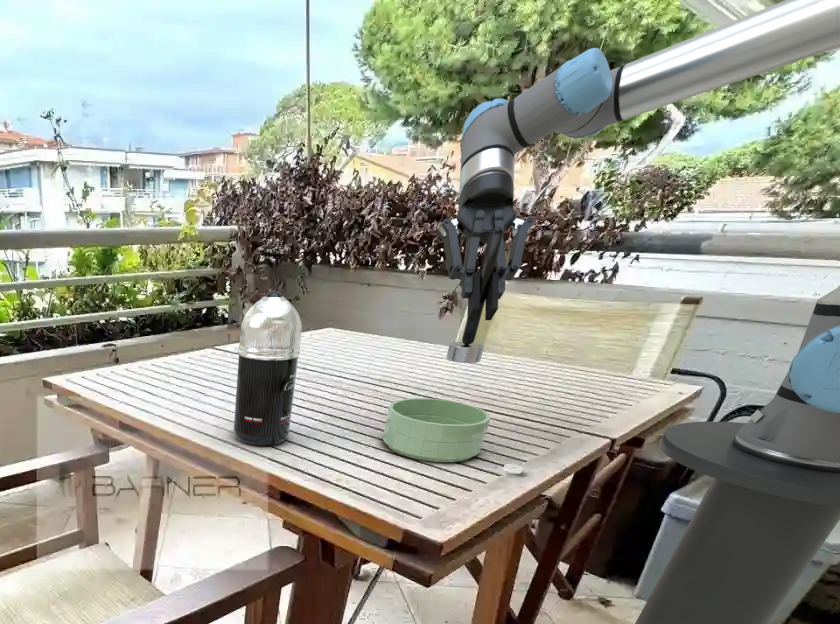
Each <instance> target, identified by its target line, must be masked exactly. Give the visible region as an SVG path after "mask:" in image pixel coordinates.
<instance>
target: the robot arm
mask: <svg viewBox="0 0 840 624" xmlns="http://www.w3.org/2000/svg"><path fill="white" fill-rule="evenodd" d="M838 48H840V0H782V1H780V2H778V3H775V4H772V5H770V6H767V7H765V8H762V9H760V10H758V11H755V12H752V13H750V14H748V15H745V16H743V17H740V18H737V19H735V20H733V21H730V22H727V23H726V24H723V25H720V26H718V27H715V28H713V29H709V30H707V31H704V32H703V33H700V34H697V35H695V36H692V37H690V38H688V39H685V40H683V41H680V42H678V43H676V44H673V45H670V46H668V47H665V48H663V49H661V50H658V51H655V52H653V53H650V54H648V55H645V56H643V57H641V58H638V59H635V60H633V61H630V62H628V63H626V64H623V65H621V66H618V67H615V68H613V69H610V66H609V62H608V60H607V57H606V55H604V53H603V51H602V50H601V49H600V48H598V47H592V48H591V47H590V48H589V49H587V50H586V51H583V52H582V53H580V54H579V55H577V56H575V57H573V58H572V59H569V60H567V61H565V62H564V63H563V64H562V65H561V66H560V67H558V68H557V69H555V70H554V71H553V72H551V73H549V74H548V75H546V76H545V77H544V78H542V79H541V80H539V81H538V82H536V83H535V84H533V85H532V86H530V87H529V88H527V89H526V90H525V91H523V92H521V93H520V94H519V95H517V96H516V97H514V98H512V99H511V100H507V99H505V98H494V99H493V100H489V101H484V102H482V103H481V104H479V105H478V106H476V107H475V108H474V109H473V110H472V111H471V112H470V113H469V114H468V116H467V118H466V119H465V121H464V124H463V128H462V135H461V138H460V145H459V147H460V175H459V190H458V191H459V192H458V193H459V194H458V195H459V197H458V210H457V211H458V213H457V214H456V218H453V219H450V218H444V219H443V220H442V222H441V225H440V227H439V230H438V232H437V235H438V236H439V238H440V239H441V241H442V243H443V248H444V254H445V255H444V256H445V261H446V269H447V274H448V275H447V276H448V279H449V280H451V281H455V280H456V279H457V280H459V283H458V284H459V286H460V287H461V294H460V296H461V298H462V299H467V316H466V317H467V319H466V321H467V320H473V319H474V317H475V315H476V313H477V312H478V310H479V303H480V271H476V266H477V260H478V253H479V246H480V243H481V242H483V243H486V244H487V242H488V238H489V234H490V232H491V230H492V229H493V228H495V227H501V228H503V230H504V234H503V238H502V241H501V245H500V249H499V252H498V256H497V260H496V263H495V267H494V271H493V274H492V278H491V282H490V285H489V289H488V293H487V296H486V300H485V308H484V309H485V312H484V321H492V320H493V317H494V316H495V315H496V313H497V311H498V310H499V300H501V298H502V296H503V295H504V293H505V292H506V281H512V280H513V279H514V278H515V276H516V275H517V273H518V272H519V269H520V268H521V265H522V260H523V255H524V251H525V246H526V241H527V236H528V233H529V231H530V229H532V226H533V224H534V223H535V219H534V218H533V217H531V216H530V217H527V218H526V219H522V218H519V217H518V216H517V215H518V214H517V212H516V210H515V209H514V203H515V202H514V197H515V196H514V195H515V193H514V192H515V191H514V190H515V185H514V182H515V155H517V154H518V153H519V152H521V151H523V150H524V149H527V148H529V147H531V146H532V145H533V144H535V143H537V142H538V141H540V140H541V139H544V138H545V137H547V136H549V135H550V134H552V133H557V134H560V135H564V136H566V137H568V138H572V139H581V138H587V137H591V136H593V135H596V134H598V133H599V132H601V131H602V130H604V129H606V127H608V126H612V125H615V124H617V123H619V122H622V121H625V120H627V119H630V118H634V117H636V116H640V115H642V114H646V113H648V112H651V111H655V110H657V109H660V108H664V107H666V106H669V105H673V104H675V103H679V102H680V101H684V100H687V99H689V98H692V97H696V96H699V95H701V94H705V93H707V92H710V91H714V90H716V89H717V90H718V89H719V88H722V87H726V86H728V85H731V84H735V83H737V82H740V81H744V80H746V79H749V78H753V77H755V76H758V75H760V74H763V73H767V72H770V71H774V70H776V69H779V68H781V67H785V66H788V65H791V64H794V63H796V62H800V61H803V60H805V59H808V58H811V57H814V56H817V55H821V54H823V53H826V52H829V51H832V50H835V49H838ZM510 228H512V230H511V231H512V237H513V239H512V242H511V245H510V250H509V255H508V259H506V258H507V257H506V248H505V239H504V235H505V233H506V232H507V231H508V230H509V229H510ZM458 232H460V233H461V234H462V235H463V236H464V238H466V240H465V241H466V243H465V253H464V259H463V261H462V255H461V249H460V248H461V247H460V241H459V236H458V235H459V234H458ZM812 311H813V312H812V313H811V315H810V317H809V318H810V319H809V322H808V324H807V327H806V329H805V331H804V332H805V333H804V335H803V338H802V341H801V343H800V346H799V349H798V351H797V353H796V355H795V356H794V357H793V358H792V360H791V362H790V364H789V368H788V371H787V373H786V375H785V376H784V378H783V380H782V382H781V384H780V385H779V388H778V389H777V391H776V393H775V395H774V396H773V398H772V399H771V400H770V401H769V402H767V404H766V405H764V406H763V407H762V409H760V410H759V409H757V410H755V411H754V413H753V414H752V415H750V416H749V417H750V419H749V420H748V421H747V422H745V423H746V424H745V425H744V426H743V427H742V428H741V429H740V430H739V431H738V432H737V434H736V436H735V438H734V440H733V441H732V444H733V446H734V447H736V448H737V449H739V450H740V451H742V452H745V453H747V454H749V455H752V456H755V457H758V458H761V459H764V460H767V461H771V462H775V463H779V464H783V465H787V466H792V467H797V468H802V469H808V470H814V471H822V472H830V473H840V285H838V286H837V287H836V288H835V289H833V290H831V291H830V292H828V293H826V294H824V295H823V296H821V297H820V298H817V300H816V302H815V305H814V309H813V310H812Z"/></svg>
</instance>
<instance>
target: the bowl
mask: <svg viewBox="0 0 840 624" xmlns="http://www.w3.org/2000/svg"><path fill="white" fill-rule="evenodd" d="M490 422H491V415H490V413H488V412H487V411H486V410H484V409H481V408H479V407H477V406H475V405H472V404H469V403H464V402H460V401H455V400H449V399H440V398H431V397H430V398H423V397H422V398H421V397H417V398H416V397H415V398H404V399H403V398H402V399H399V400H395V401H393V402H391V403H390V404H389V406H388V410H387V415H386V420H385V425H384V430H383V434H382V435H383V436H382V440H383V442H384V444H385V445H387V447H388V448H389V449H390V450H392V451H393V452H395V453H397V454H399V455H402V456H405V457H408V458H412V459H415V460H421V461H424V462H425V461H426V462H432V463H433V462H435V463H459V462H463V461H467V460H470V459H472V458H473V457H476V456H477V455H479V453H481V450H482V447H483V444H484V441H485V438H486V434H487V431H488V428H489V424H490Z"/></svg>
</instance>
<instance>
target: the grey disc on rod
mask: <svg viewBox="0 0 840 624" xmlns="http://www.w3.org/2000/svg"><path fill="white" fill-rule="evenodd" d="M503 234H504V235H505V233H504V230H503V228H501V227H495V228H493V229H492V230H491V232H490V234H489V238H488V242H487V243H486V244H485V245H486V247H485V249H484V253H483V254H484V255H483V258H482V261H481V265H480V267H479V272H480V303H479V310H478V312H477V313H476V315H475V317H474V319H473V320H467V319H466V322H465V326H464V329H463V334H462V337H461V341H452V342H450V343H449V344H448V348H447V353H446V357H445V359H446V360H447V361H450V362H454V363H459V364H460V363H461V364H477V363H480V362H481V360H482V357H483V354H484V353H483V352H484V349H485V345H484V344H482V343H478V342H475V341H476V336H477V333H478V329H479V325H480V322H481V318H482V314H483V310H484V307H485V305H486V296H487V293H488V289H489V285H490V282H491V278H492V274H493V271H494V267H495V263H496V260H497V256H498V252H499V249H500V245H501V241H502V238H504V236H503Z"/></svg>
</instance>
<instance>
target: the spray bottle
mask: <svg viewBox="0 0 840 624" xmlns="http://www.w3.org/2000/svg"><path fill="white" fill-rule="evenodd" d="M239 331H240V332H239V343H238V344H239V345H238V350H237V354H238V363H237V377H236V389H235V390H236V391H235V392H236V393H235V407H234V417H233V418H234V420H233V434H234V437H236V439H237V440H239V441H240V442H242V443H245V444H248V445H252V446H253V445H254V446H261V447H263V446H265V447H266V446H273V445H274V446H275V445H278V444H281V443H283V442H284V441H285V440H287V438H288V437H289V434H290V427H291V419H292V411H293V402H294V394H295V387H296V380H297V379H296V378H297V369H298V362H299V356H300V354H301V353H300V351H301V339H302V333H303V332H302V331H303V323H302V318H301V315H300V314H299V312H298V310H297V309H296V308H295V306H294V305H293V304H292V303H291V302H290V301H289V300H288V299H286V298H285V296H284V295H283V294H282V293H281V292H279V291H275V290H272V291H270V292H267V294H265V295H264V296H263V297H262V298H261V299H259V300H258V301H256V302H255V303H254V304H253V305H252V306H251V307H250V308H249V309H248V310H247V312H246V313H245V315H244V316H243V319H242V321H241V324H240V330H239Z"/></svg>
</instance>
